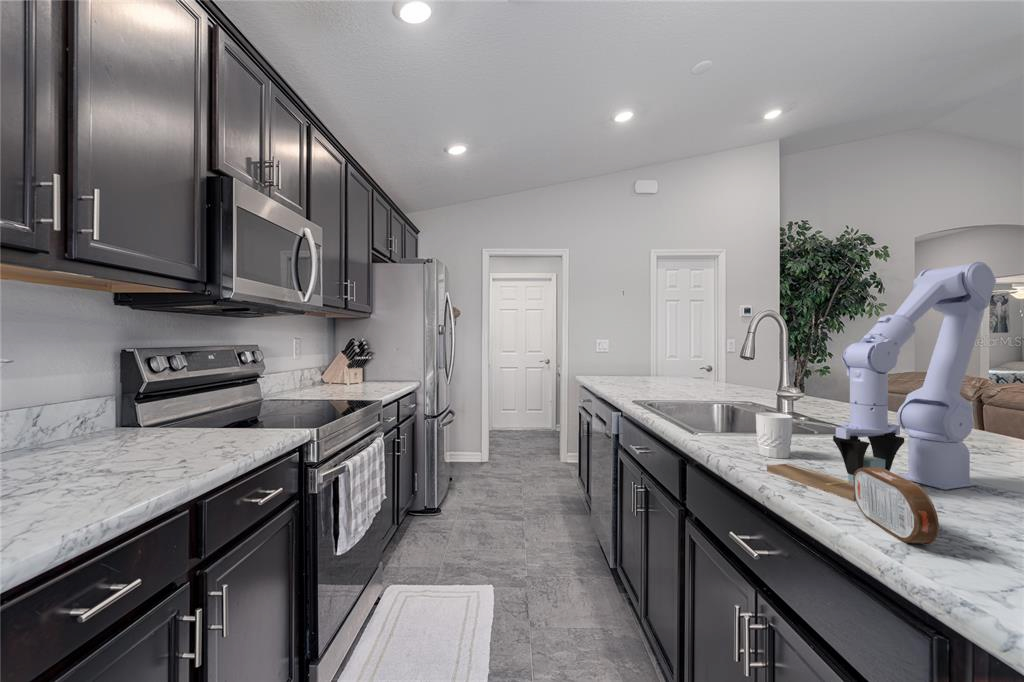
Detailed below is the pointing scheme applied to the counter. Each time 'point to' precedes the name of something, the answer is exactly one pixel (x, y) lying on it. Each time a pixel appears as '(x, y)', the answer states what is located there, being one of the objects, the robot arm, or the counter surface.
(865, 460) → the block
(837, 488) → the walnut board
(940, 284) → the robot arm
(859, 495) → the tin
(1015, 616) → the counter surface
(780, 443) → the white cup
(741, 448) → the counter surface
